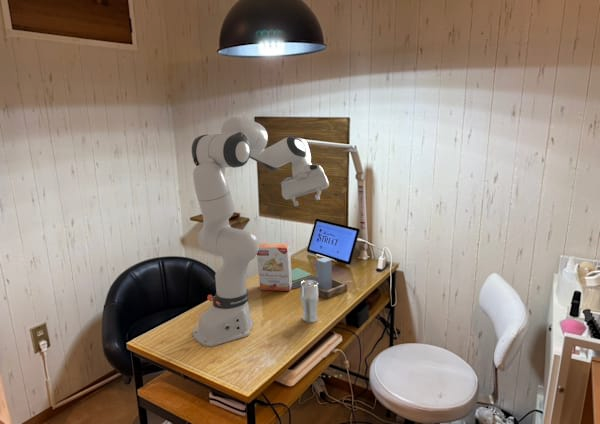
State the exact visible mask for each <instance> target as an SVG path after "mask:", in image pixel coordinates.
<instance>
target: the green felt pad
mask: <svg viewBox="0 0 600 424" xmlns="http://www.w3.org/2000/svg"><path fill="white" fill-rule="evenodd" d="M291 273H292V283H294V282H297V281H300V280H303V279H306V278H308V277H311V276H313V274H312V273H310V272H308V271H306V270H303V269H301V268H299V267H296V268H294V269H291Z"/></svg>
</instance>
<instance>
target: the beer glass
mask: <svg viewBox="0 0 600 424" xmlns="http://www.w3.org/2000/svg"><path fill="white" fill-rule="evenodd" d="M299 294H300V301H301V306H302V311H303V313H302V318H301V319H302V321H303V322H305V323H316V322H317V321H318V320H319V316H318V304H319V297H320V296H319V290H318V282H317V281H315V280H304V281H302V282H301V287H300V293H299Z"/></svg>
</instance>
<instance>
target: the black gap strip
mask: <svg viewBox="0 0 600 424" xmlns="http://www.w3.org/2000/svg"><path fill="white" fill-rule="evenodd" d="M304 280H315V281H317V277H316V276H314V275H311V276H309V277H306V278H303V279H300V280H298V281H295V282H292V287H291V289H290V290H296V289H298V288H301V282H302V281H304Z"/></svg>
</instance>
